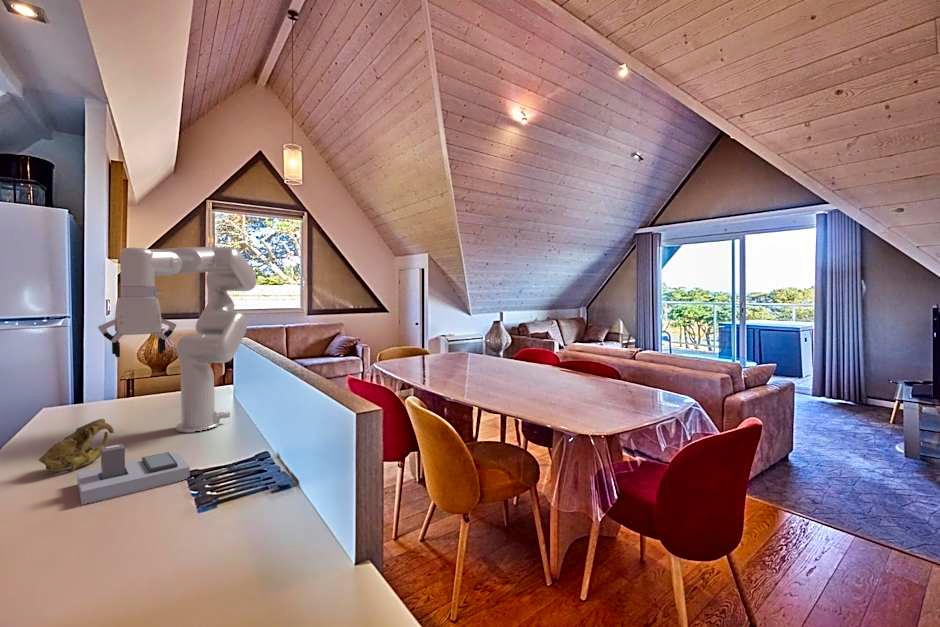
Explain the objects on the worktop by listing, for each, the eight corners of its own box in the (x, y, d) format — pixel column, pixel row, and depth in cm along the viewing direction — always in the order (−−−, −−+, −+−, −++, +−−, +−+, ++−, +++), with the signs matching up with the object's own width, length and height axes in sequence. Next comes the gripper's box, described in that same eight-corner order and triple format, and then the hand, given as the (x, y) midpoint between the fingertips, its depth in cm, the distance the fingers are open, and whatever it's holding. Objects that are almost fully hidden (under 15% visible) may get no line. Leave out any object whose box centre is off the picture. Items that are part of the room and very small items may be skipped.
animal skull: (130, 444, 123) (114, 416, 118) (72, 488, 111) (51, 460, 106) (106, 437, 126) (89, 411, 121) (47, 480, 113) (25, 452, 108)
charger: (123, 480, 107) (122, 442, 106) (125, 485, 104) (124, 446, 103) (101, 484, 104) (100, 446, 103) (103, 490, 101) (102, 450, 101)
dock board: (176, 462, 119) (176, 448, 118) (189, 478, 109) (189, 462, 108) (77, 484, 105) (77, 467, 105) (81, 505, 95) (81, 486, 95)
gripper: (172, 293, 130) (173, 350, 131) (95, 292, 118) (97, 356, 119) (178, 293, 125) (179, 353, 126) (98, 293, 113) (100, 359, 114)
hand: (139, 355), depth 122 cm, fingers open, 9 cm apart
